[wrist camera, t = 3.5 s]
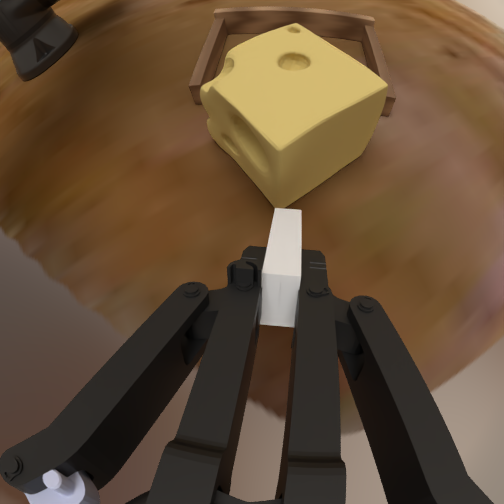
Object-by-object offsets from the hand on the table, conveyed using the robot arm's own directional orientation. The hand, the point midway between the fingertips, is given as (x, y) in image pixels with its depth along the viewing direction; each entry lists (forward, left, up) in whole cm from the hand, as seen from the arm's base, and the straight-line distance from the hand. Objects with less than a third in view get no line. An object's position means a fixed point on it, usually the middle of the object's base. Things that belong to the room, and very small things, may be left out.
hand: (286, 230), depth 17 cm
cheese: (0, +10, -7) cm, 12 cm away
